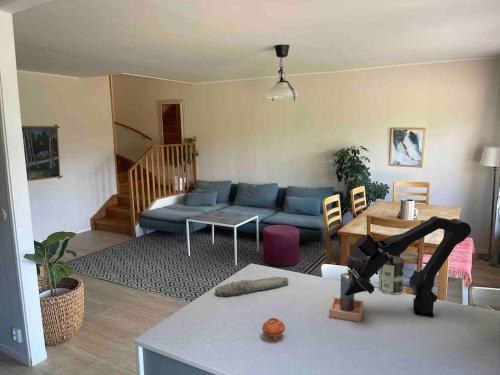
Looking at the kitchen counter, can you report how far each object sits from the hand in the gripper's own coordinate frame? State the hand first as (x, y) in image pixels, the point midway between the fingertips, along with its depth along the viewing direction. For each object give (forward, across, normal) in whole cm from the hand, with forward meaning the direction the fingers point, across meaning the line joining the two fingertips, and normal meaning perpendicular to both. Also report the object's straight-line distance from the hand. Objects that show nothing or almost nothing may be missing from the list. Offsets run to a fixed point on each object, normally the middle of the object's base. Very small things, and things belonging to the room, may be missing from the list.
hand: (343, 291), depth 144 cm
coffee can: (-12, -21, +25) cm, 34 cm away
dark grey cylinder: (+4, 0, +6) cm, 7 cm away
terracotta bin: (+5, 0, +7) cm, 9 cm away
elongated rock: (+31, -23, -18) cm, 43 cm away
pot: (+26, +16, -14) cm, 33 cm away
